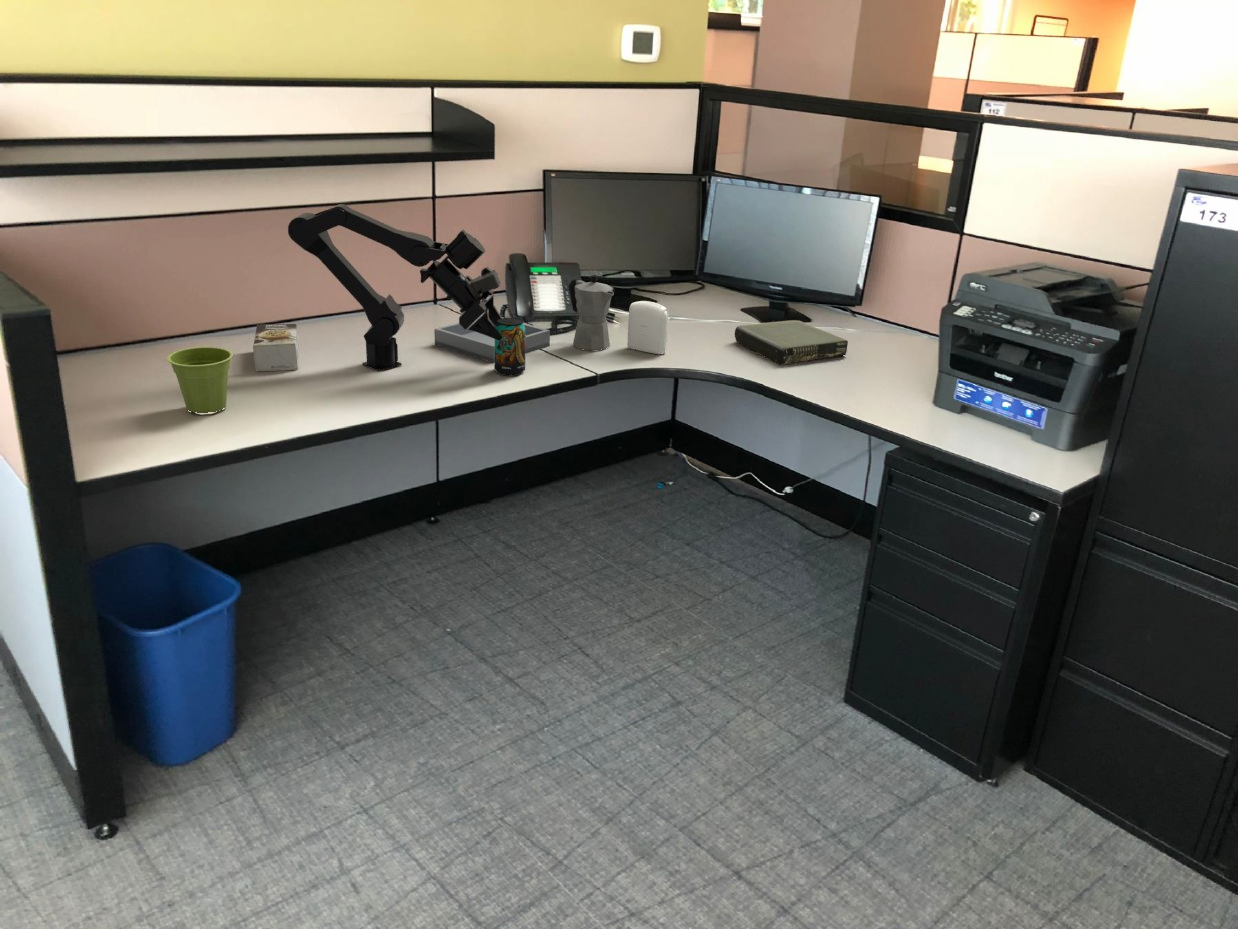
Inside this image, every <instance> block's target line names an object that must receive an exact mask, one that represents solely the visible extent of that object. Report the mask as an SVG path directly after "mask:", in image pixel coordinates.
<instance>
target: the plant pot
mask: <svg viewBox="0 0 1238 929" xmlns="http://www.w3.org/2000/svg"><path fill="white" fill-rule="evenodd" d="M233 354H234V353H233V352H232V351H231V350H229V349H226V348H224V347H223V348H222V347H217V346H193V347H188V348H183V349H179V350H176V351H174V352H173V351H172V353H170V354H168V356H167V357H166V359H167V361H168V363H170V364H171V367H172V371H173V372H174V374H175V377H176V379H177V382H178V384H179V385H178V386H179V388H180V391H181V394H182V395H181V396H182V398H183V401H184V404H185V408H186V411H187V410H189V411H191V412H197V413H208V412H216V411H219V410H222V409H223V408H225V407H226V408H227V397H228V396H227V395H228V380H229V369H230V364H231V359H232V358H233ZM226 408H225V409H226ZM219 412H220V411H219Z"/></svg>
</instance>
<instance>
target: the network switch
mask: <svg viewBox="0 0 1238 929" xmlns="http://www.w3.org/2000/svg"><path fill="white" fill-rule="evenodd" d="M734 339H735V342H736V343H737V344H739V345H740V344H741V345H740V346H742V345H743V346H742V347H744V346H745V347H744V348H746V347H747V348H746V349H749V350H750V349H751V351H752V350H753V352H754V351H755V352H754V353H757V354H758V355H760V354H761V355H760V356H762V355H763V356H762V357H764V358H766V359H767V358H768V360H770V361H771V360H772V361H771V362H773V363H775V362H776V363H775V364H778V365H779V366H784V365H787V364H790V363H793V362H794V363H798V362H799V361H800V362H807V361H813V360H816V359H817V360H818V361H819V360H820V359H825V358H830V357H839V356H842V355H845V356H847V355H846V354H847V352H848V343H849V340H847V339H845V338H842V337H839V336H837V335H836V334H835V335H834V334H832V333H830V332H827V331H825V330H823V329H821V328H818V327H815V326H813V325H810V324H808V323H805V322H803V321H801V320H793V319H792V320H782V321H771V322H763V323H753V324H752V323H751V324H742V325H737V326H736V328H735V330H734Z"/></svg>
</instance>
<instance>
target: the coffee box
mask: <svg viewBox="0 0 1238 929" xmlns="http://www.w3.org/2000/svg"><path fill="white" fill-rule="evenodd" d="M252 345H253V346H252V350H253V357H254V358H253V359H254V367H255V371H256V372H273V371H275V372H276V371H277V370H278V371H295V370H296V371H297V370H298V369H299V366H298V365H299V350H300V349H299V347H300V346H299V335H298V326H297V323H266V324H262V323H261V324H260V323H259V324H258V323H257V324H256V330H255V335H254V340H253V344H252Z"/></svg>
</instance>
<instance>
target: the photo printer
mask: <svg viewBox="0 0 1238 929" xmlns="http://www.w3.org/2000/svg"><path fill="white" fill-rule="evenodd" d="M627 323H628V325H627V345H626V346H627V349H630V348H631V350H635V349H636V351H640V352H644V353H649V354H650V353H651V354H654V355H655V354H656V355H660V354H661V355H663V354H662V353H664V354H665V353H666V351H667V343H668V339H667V338H668V324H669V310H668V308H666V307H665V306H664V305H662V304H659V303H657V302H652V301H649V300H648V301H647V300H640V301H635V302H632V303H631V304H630V306H629V310H628V322H627Z"/></svg>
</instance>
